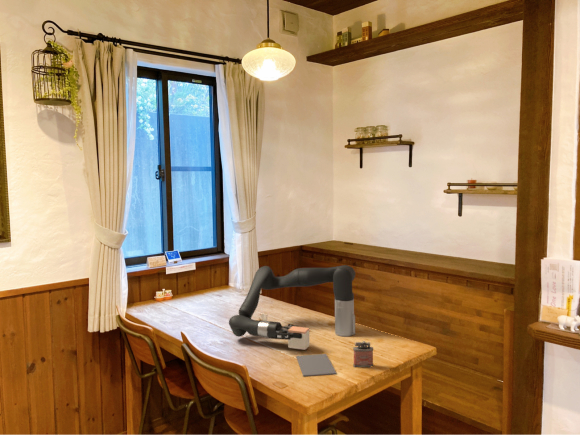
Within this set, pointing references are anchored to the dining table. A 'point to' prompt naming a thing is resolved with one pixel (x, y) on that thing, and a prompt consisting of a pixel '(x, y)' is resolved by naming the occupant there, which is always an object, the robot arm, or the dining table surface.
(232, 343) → the dining table surface
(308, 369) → the mat
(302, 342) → the block
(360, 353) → the lighter
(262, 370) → the dining table surface
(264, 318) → the architectural model
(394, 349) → the dining table surface
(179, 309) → the dining table surface
